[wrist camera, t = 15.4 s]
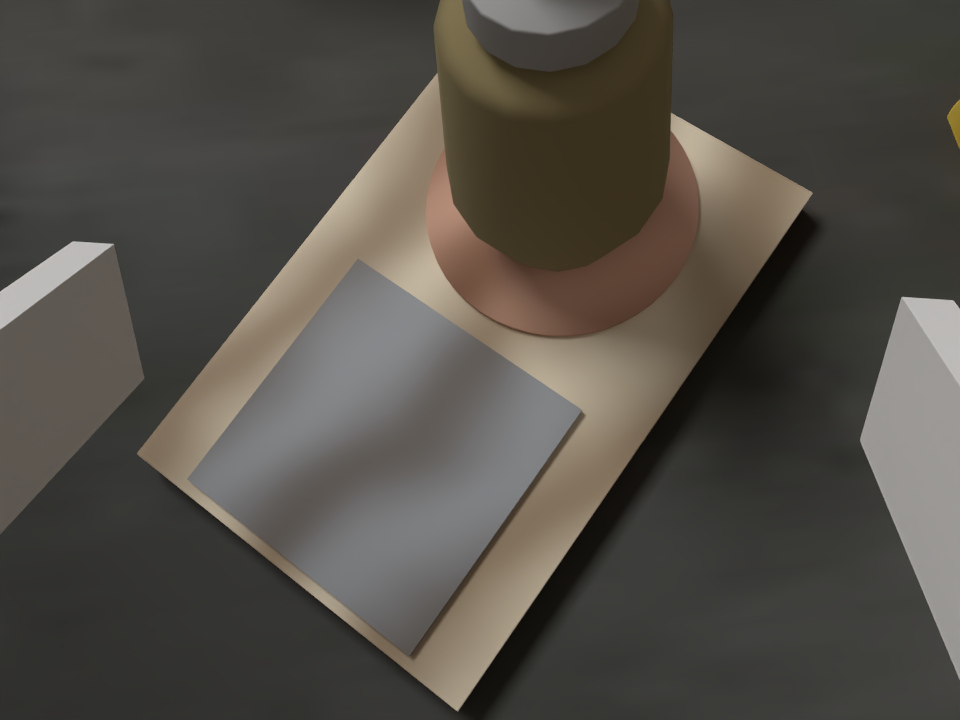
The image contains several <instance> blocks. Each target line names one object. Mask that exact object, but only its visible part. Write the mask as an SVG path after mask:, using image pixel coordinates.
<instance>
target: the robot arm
mask: <svg viewBox="0 0 960 720" xmlns="http://www.w3.org/2000/svg"><path fill="white" fill-rule="evenodd" d="M143 379H144V375H143V371H142V366H141V362H140V357H139V353H138V349H137V344H136V340H135V335H134V331H133V327H132V322H131V318H130V313H129V309H128V305H127V300H126V296H125V291H124V287H123V283H122V278H121V274H120V269H119V265H118V261H117V256H116V252H115V247H114V244H102V243H88V242H71V243H70V244H69V245H67V246H66V247H64V248H63V249H61V250H60V251H58V252H57V253H56V254H54V255H53V256H51V257H50V258H48V259H47V260H45V261H44V262H42V263H41V264H40V265H38V266H37V267H35V268H34V269H32V270H31V271H29V272H28V273H27V274H25V275H24V276H22V277H21V278H19V279H18V280H16V281H15V282H14V283H12V284H11V285H9V286H8V287H6V288H5V289H3V290H2V291H1V292H0V534H1V533H2V532H3V531H4V530H5V529H6V528H7V527H8V526H9V524H10V523H11V522H12V521H13V520H14V519H15V518H16V517H17V516H18V515H19V514H20V513H21V511H22V510H23V509H24V508H25V507H26V506H27V505H28V504H29V503H30V502H31V501H32V500H33V498H34V497H35V496H36V495H37V494H38V493H39V492H40V491H41V490H42V489H43V488H44V487H45V485H46V484H47V483H48V482H49V481H50V480H51V479H52V478H53V477H54V476H55V475H56V474H57V472H58V471H59V470H60V469H61V468H62V467H63V466H64V465H65V464H66V463H67V462H68V461H69V459H70V458H71V457H72V456H73V455H74V454H75V453H76V452H77V451H78V450H79V449H80V448H81V447H82V445H83V444H84V443H85V442H86V441H87V440H88V439H89V438H90V437H91V436H92V435H93V434H94V432H95V431H96V430H97V429H98V428H99V427H100V426H101V425H102V424H103V423H104V422H105V421H106V419H107V418H108V417H109V416H110V415H111V414H112V413H113V412H114V411H115V410H116V409H117V408H118V406H119V405H120V404H121V403H122V402H123V401H124V400H125V399H126V398H127V397H128V396H129V395H130V393H131V392H132V391H133V390H134V389H135V388H136V387H137V386H138V385H139V384H140V383H141V382H142V380H143ZM860 442H861V444H862V447H863V449H864V451H865V454H866V456H867V459H868V461H869V463H870V466H871V468H872V471H873V473H874V475H875V478H876V480H877V483H878V485H879V487H880V490H881V492H882V495H883V497H884V499H885V502H886V504H887V507H888V509H889V511H890V514H891V516H892V519H893V521H894V523H895V526H896V528H897V531H898V533H899V535H900V538H901V540H902V543H903V545H904V547H905V550H906V552H907V554H908V557H909V559H910V562H911V564H912V566H913V569H914V571H915V574H916V576H917V578H918V581H919V583H920V586H921V588H922V590H923V593H924V595H925V598H926V600H927V602H928V605H929V607H930V610H931V612H932V614H933V617H934V619H935V622H936V624H937V626H938V629H939V631H940V634H941V636H942V638H943V641H944V643H945V646H946V648H947V650H948V653H949V655H950V658H951V660H952V662H953V665H954V667H955V670H956V672H957V674H958V677H959V679H960V309H959V307H958V306H957V305H956V303H955V302H954V301H953V300H938V299H923V298H909V297H902V298H901V301H900V304H899V308H898V311H897V315H896V318H895V322H894V325H893V328H892V332H891V335H890V339H889V342H888V346H887V349H886V352H885V356H884V359H883V363H882V366H881V370H880V373H879V376H878V380H877V383H876V387H875V390H874V394H873V397H872V400H871V404H870V407H869V411H868V414H867V418H866V421H865V424H864V428H863V431H862V435H861V438H860Z"/></svg>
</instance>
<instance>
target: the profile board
mask: <svg viewBox="0 0 960 720" xmlns="http://www.w3.org/2000/svg"><path fill="white" fill-rule="evenodd" d="M811 195H812V192H810V191H808V190H807V189H805V188H803V187H801V186H800V185H798V184H796V183H794V182H792V181H791V180H789V179H787V178H785V177H784V176H782V175H780V174H778V173H777V172H775V171H773V170H771V169H769V168H768V167H766V166H764V165H762V164H761V163H759V162H757V161H755V160H754V159H752V158H750V157H748V156H746V155H745V154H743V153H741V152H739V151H738V150H736V149H734V148H732V147H731V146H729V145H727V144H725V143H723V142H722V141H720V140H718V139H716V138H715V137H713V136H711V135H709V134H707V133H706V132H704V131H702V130H700V129H699V128H697V127H695V126H693V125H692V124H690V123H688V122H686V121H684V120H683V119H681V118H679V117H677V116H676V115H674V114H672V113H671V134H670V161H669V167H668V172H667V177H666V183H665V188H664V194H663V199H662V200H661V202H660V203H659V205H658V206H657V208H656V209H655V210H654V212H653V213H652V215H651V216H650V218H649V219H648V221H647V222H646V223H645V225H644V226H643V228H642V229H641V231H640V232H639V234H637V235H636V236H634V237H633V238H631V239H630V240H628V241H626V242H625V243H623V244H622V245H620V246H619V247H617V248H616V249H614V250H612V251H611V252H609V253H608V254H606V255H605V256H603V257H602V258H600V259H598V260H596V261H595V262H593V263H591V264H589V265H588V266H584V267H579V268H574V269H569V270H564V271H559V272H557V271H551V270H545V269H539V268H533V267H529V266H526V265H524V264H522V263H520V262H517V261H515V260H513V259H511V258H510V257H508V256H506V255H505V254H503V253H501V252H500V251H498V250H497V249H495V248H493V247H492V246H490V245H488V244H487V243H485V242H484V241H482V240H480V239H479V238H477V237H476V236H475V234H474V233H473V231H472V230H471V229H470V227H469V226H468V224H467V223H466V221H465V220H464V219H463V217H462V216H461V214H460V213H459V211H458V210H457V208H456V207H455V206H454V204H453V199H452V194H451V188H450V183H449V177H448V172H447V166H446V157H445V146H444V135H443V124H442V114H441V103H440V92H439V81H438V73H437V74H436V76H435V77H434V78H433V79H432V81H431V82H430V83H429V84H428V86H427V87H426V88H425V90H424V91H423V92H422V93H421V95H420V96H419V97H418V98H417V100H416V101H415V102H414V103H413V105H412V106H411V107H410V108H409V110H408V111H407V112H406V114H405V115H404V116H403V117H402V119H401V120H400V121H399V122H398V124H397V125H396V126H395V127H394V129H393V130H392V131H391V133H390V134H389V135H388V136H387V138H386V139H385V140H384V141H383V143H382V144H381V145H380V146H379V148H378V149H377V150H376V152H375V153H374V154H373V155H372V157H371V158H370V159H369V160H368V162H367V163H366V164H365V165H364V167H363V168H362V169H361V171H360V172H359V173H358V174H357V176H356V177H355V178H354V179H353V181H352V182H351V183H350V184H349V186H348V187H347V188H346V189H345V191H344V192H343V193H342V195H341V196H340V197H339V198H338V200H337V201H336V202H335V203H334V205H333V206H332V207H331V208H330V210H329V211H328V212H327V214H326V215H325V216H324V217H323V219H322V220H321V221H320V222H319V224H318V225H317V226H316V227H315V229H314V230H313V231H312V233H311V234H310V235H309V236H308V238H307V239H306V240H305V241H304V243H303V244H302V245H301V246H300V248H299V249H298V250H297V251H296V253H295V254H294V255H293V257H292V258H291V259H290V260H289V262H288V263H287V264H286V265H285V267H284V268H283V269H282V270H281V272H280V273H279V274H278V276H277V277H276V278H275V279H274V281H273V282H272V283H271V284H270V286H269V287H268V288H267V289H266V291H265V292H264V293H263V295H262V296H261V297H260V298H259V300H258V301H257V302H256V303H255V305H254V306H253V307H252V308H251V310H250V311H249V312H248V314H247V315H246V316H245V317H244V319H243V320H242V321H241V322H240V324H239V325H238V326H237V327H236V329H235V330H234V331H233V332H232V334H231V335H230V336H229V338H228V339H227V340H226V341H225V343H224V344H223V345H222V346H221V348H220V349H219V350H218V351H217V353H216V354H215V355H214V357H213V358H212V359H211V360H210V362H209V363H208V364H207V365H206V367H205V368H204V369H203V370H202V372H201V373H200V374H199V376H198V377H197V378H196V379H195V381H194V382H193V383H192V384H191V386H190V387H189V388H188V389H187V391H186V392H185V393H184V394H183V396H182V397H181V398H180V400H179V401H178V402H177V403H176V405H175V406H174V407H173V408H172V410H171V411H170V412H169V413H168V415H167V416H166V417H165V419H164V420H163V421H162V422H161V424H160V425H159V426H158V427H157V429H156V430H155V431H154V432H153V434H152V435H151V436H150V438H149V439H148V440H147V441H146V443H145V444H144V445H143V446H142V448H141V449H140V450H139V451H138V453H137V455H139V456H140V457H141V458H142V459H144V460H145V461H146V462H147V463H149V464H150V465H151V466H152V467H154V468H155V469H156V470H157V471H159V472H160V473H161V474H162V475H164V476H165V477H166V478H167V479H169V480H170V481H171V482H172V483H174V484H175V485H176V486H177V487H179V488H180V489H181V490H182V491H184V492H185V493H186V494H187V495H189V496H190V497H191V498H192V499H193V500H195V501H196V502H197V503H198V504H200V505H201V506H202V507H203V508H205V509H206V510H207V511H208V512H210V513H211V514H212V515H213V516H215V517H216V518H217V519H218V520H220V521H221V522H222V523H223V524H225V525H226V526H227V527H228V528H230V529H231V530H232V531H233V532H235V533H236V534H237V535H238V536H240V537H241V538H242V539H243V540H245V541H246V542H247V543H248V544H250V545H251V546H252V547H253V548H254V549H256V550H257V551H258V552H259V553H261V554H262V555H263V556H264V557H266V558H267V559H268V560H269V561H271V562H272V563H273V564H274V565H276V566H277V567H278V568H279V569H281V570H282V571H283V572H284V573H286V574H287V575H288V576H289V577H291V578H292V579H293V580H294V581H296V582H297V583H298V584H299V585H301V586H302V587H303V588H304V589H306V590H307V591H308V592H309V593H310V594H312V595H313V596H314V597H315V598H317V599H318V600H319V601H320V602H322V603H323V604H324V605H325V606H327V607H328V608H329V609H330V610H332V611H333V612H334V613H335V614H337V615H338V616H339V617H340V618H342V619H343V620H344V621H345V622H347V623H348V624H349V625H350V626H352V627H353V628H354V629H355V630H357V631H358V632H359V633H360V634H362V635H363V636H364V637H365V638H367V639H368V640H369V641H370V642H371V643H373V644H374V645H375V646H376V647H378V648H379V649H380V650H381V651H383V652H384V653H385V654H386V655H388V656H389V657H390V658H391V659H393V660H394V661H395V662H396V663H398V664H399V665H400V666H401V667H403V668H404V669H405V670H406V671H408V672H409V673H410V674H411V675H413V676H414V677H415V678H416V679H418V680H419V681H420V682H421V683H423V684H424V685H425V686H426V687H427V688H429V689H430V690H431V691H432V692H434V693H435V694H436V695H437V696H439V697H440V698H441V699H442V700H444V701H445V702H446V703H447V704H449V705H450V706H451V707H452V708H454V709H455V710H456V711H457V712H458V710H459V709H460V708H461V707H462V705H463V704H464V703H465V701H466V700H467V698H468V697H469V695H470V694H471V692H472V691H473V689H474V688H475V686H476V685H477V684H478V682H479V681H480V679H481V678H482V676H483V675H484V673H485V672H486V670H487V669H488V667H489V666H490V665H491V663H492V662H493V660H494V659H495V657H496V656H497V654H498V653H499V651H500V650H501V648H502V647H503V646H504V644H505V643H506V641H507V640H508V638H509V637H510V635H511V634H512V632H513V631H514V630H515V628H516V627H517V625H518V624H519V622H520V621H521V619H522V618H523V616H524V615H525V613H526V612H527V611H528V609H529V608H530V606H531V605H532V603H533V602H534V600H535V599H536V597H537V596H538V594H539V593H540V592H541V590H542V589H543V587H544V586H545V584H546V583H547V581H548V580H549V578H550V577H551V575H552V574H553V573H554V571H555V570H556V568H557V567H558V565H559V564H560V562H561V561H562V559H563V558H564V557H565V555H566V554H567V552H568V551H569V549H570V548H571V546H572V545H573V543H574V542H575V540H576V539H577V538H578V536H579V535H580V533H581V532H582V530H583V529H584V527H585V526H586V524H587V523H588V521H589V520H590V519H591V517H592V516H593V514H594V513H595V511H596V510H597V508H598V507H599V505H600V504H601V502H602V501H603V500H604V498H605V497H606V495H607V494H608V492H609V491H610V489H611V488H612V486H613V485H614V484H615V482H616V481H617V479H618V478H619V476H620V475H621V473H622V472H623V470H624V469H625V467H626V466H627V465H628V463H629V462H630V460H631V459H632V457H633V456H634V454H635V453H636V451H637V450H638V448H639V447H640V446H641V444H642V443H643V441H644V440H645V438H646V437H647V435H648V434H649V432H650V431H651V430H652V428H653V427H654V425H655V424H656V422H657V421H658V419H659V418H660V416H661V415H662V413H663V412H664V411H665V409H666V408H667V406H668V405H669V403H670V402H671V400H672V399H673V397H674V396H675V394H676V393H677V392H678V390H679V389H680V387H681V386H682V384H683V383H684V381H685V380H686V378H687V377H688V375H689V374H690V373H691V371H692V370H693V368H694V367H695V365H696V364H697V362H698V361H699V359H700V358H701V357H702V355H703V354H704V352H705V351H706V349H707V348H708V346H709V345H710V343H711V342H712V340H713V339H714V338H715V336H716V335H717V333H718V332H719V330H720V329H721V327H722V326H723V324H724V323H725V321H726V320H727V319H728V317H729V316H730V314H731V313H732V311H733V310H734V308H735V307H736V305H737V304H738V302H739V301H740V300H741V298H742V297H743V295H744V294H745V292H746V291H747V289H748V288H749V286H750V285H751V284H752V282H753V281H754V279H755V278H756V276H757V275H758V273H759V272H760V270H761V269H762V267H763V266H764V265H765V263H766V262H767V260H768V259H769V257H770V256H771V254H772V253H773V251H774V250H775V248H776V247H777V246H778V244H779V243H780V241H781V240H782V238H783V237H784V235H785V234H786V232H787V231H788V229H789V228H790V227H791V225H792V224H793V222H794V221H795V219H796V218H797V216H798V215H799V213H800V212H801V211H802V209H803V208H804V206H805V204H806V203H807V201H808V200H809V198H810V197H811Z"/></svg>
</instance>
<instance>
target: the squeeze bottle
mask: <svg viewBox="0 0 960 720" xmlns="http://www.w3.org/2000/svg"><path fill="white" fill-rule="evenodd" d="M433 28H434V39H435V49H436V60H437V71H438V81H439V92H440V103H441V114H442V124H443V135H444V146H445V157H446V166H447V172H448V177H449V183H450V188H451V194H452V199H453V204H454V206H455V207H456V208H457V210H458V211H459V213H460V214H461V216H462V217H463V219H464V220H465V221H466V223H467V224H468V226H469V227H470V229H471V230H472V231H473V233H474V234H475V236H476V237H477V238H479V239H480V240H482V241H484V242H485V243H487V244H488V245H490V246H492V247H493V248H495V249H497V250H498V251H500V252H501V253H503V254H505V255H506V256H508V257H510V258H511V259H513V260H515V261H517V262H520V263H522V264H524V265H526V266H529V267H533V268H539V269H545V270H551V271H557V272H559V271H564V270H569V269H574V268H579V267H584V266H588V265H589V264H591V263H593V262H595V261H596V260H598V259H600V258H602V257H603V256H605V255H606V254H608V253H609V252H611V251H612V250H614V249H616V248H617V247H619V246H620V245H622V244H623V243H625V242H626V241H628V240H630V239H631V238H633V237H634V236H636V235H637V234H639V232H640V231H641V229H642V228H643V226H644V225H645V223H646V222H647V221H648V219H649V218H650V216H651V215H652V213H653V212H654V210H655V209H656V208H657V206H658V205H659V203H660V202H661V200H662V199H663V194H664V188H665V183H666V177H667V172H668V167H669V161H670V134H671V93H672V52H673V12H672V8H671V5H670V1H669V0H440V3H439V7H438V11H437V15H436V18H435V22H434V26H433Z"/></svg>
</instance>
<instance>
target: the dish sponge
mask: <svg viewBox="0 0 960 720" xmlns="http://www.w3.org/2000/svg"><path fill="white" fill-rule="evenodd" d="M947 118H948V121H949V123H950V126H951V128H952V131H953V134H954V136H955V139H956V141H957V144H958V146H959V149H960V99H959V101H958V102H957V103H956V104H955V105H954V107H953V108H952V109H951V111H950V113H949V114H948V116H947Z"/></svg>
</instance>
